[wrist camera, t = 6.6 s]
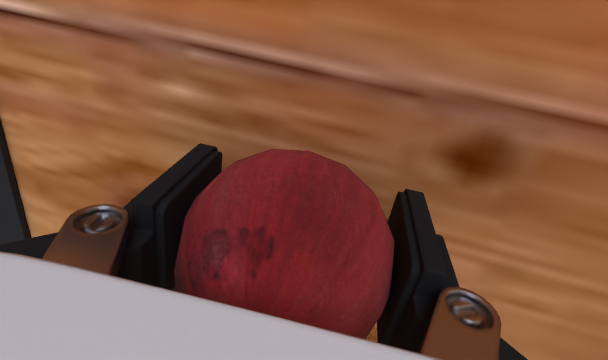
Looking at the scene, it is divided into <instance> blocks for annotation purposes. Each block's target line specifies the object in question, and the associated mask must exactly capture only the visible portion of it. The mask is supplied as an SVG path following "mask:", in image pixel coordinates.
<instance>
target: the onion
mask: <svg viewBox="0 0 608 360" xmlns="http://www.w3.org/2000/svg"><path fill="white" fill-rule="evenodd" d="M393 255H394V238H393V236H392V233H391V231H390V228H389V226H388V223H387V221H386V218H385V216H384V213H383V211H382V208H381V206H380V203H379V201H378V199H377V197H376V195H375V194H374V192H373V191H372V190H371V189H370V188H369V187H368V186H367V185H366V184H365V183H364V182H363V181H362V180H361V179H359V178H358V177H357V176H356V175H355V174H354V173H353V172H352V171H351V170H350V169H349V168H348V167H347V166H345V165H343V164H341V163H338V162H336V161H333V160H331V159H328V158H326V157H323V156H321V155H319V154H316V153H314V152H311V151H298V150H279V149H271V150H268V151H265V152H262V153H259V154H256V155H253V156H250V157H247V158H244V159H241V160H238V161H236V162H235V163H233V164H232V165H230V166H229V167H228V168H226V169H225V170H223V171H222V172H221V173H220V174H219V175H218V176H217V177H216V178H215V179H214V180H213V181H212V182H211V183H210V184H209V185H208V186H207V187H206V188H205V189H204V190H203V191H202V192H201V193H200V194H199V195H198V196H197V197H196V198H195V200H194V201H193V203H192V205H191V207H190V209H189V211H188V213H187V215H186V216H185V221H184V225H183V230H182V235H181V239H180V244H179V249H178V254H177V259H176V263H175V268H174V276H175V289H176V292H180V293H184V294H188V295H193V296H197V297H200V298H204V299H208V300H212V301H216V302H220V303H224V304H228V305H232V306H236V307H240V308H244V309H248V310H252V311H256V312H260V313H264V314H268V315H272V316H276V317H280V318H284V319H288V320H292V321H296V322H300V323H304V324H307V325H311V326H315V327H319V328H323V329H327V330H331V331H335V332H339V333H342V334H346V335H350V336H354V337H358V338H362V339H365V338H366V337H367V335H368V334H369V332H370V331H371V329H372V328H373V326H374V325H375V323H376V322H377V320H378V319H379V317H380V316H381V314H382V312H383V310H384V307H385V305H386V303H387V300H388V298H389V293H390V286H391V278H392V267H393Z"/></svg>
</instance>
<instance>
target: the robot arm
mask: <svg viewBox="0 0 608 360" xmlns="http://www.w3.org/2000/svg"><path fill="white" fill-rule="evenodd" d="M221 168H222V153H221V152H218V150H217V147H214V146H210V145H205V144H201V143H200V144H198V145H197V146H196V147H195V148H194V149H192V150H191V151H190V152H189V153H188V154H186V155H185V156H184V157H183V158H182V159H180V160H179V161H178V162H177V163H175V164H174V165H173V166H172V167H171V168H169V169H168V170H167V171H166V172H165V173H163V174H162V175H161V176H160V177H159V178H157V179H156V180H155V181H154V182H153V183H151V184H150V185H149V186H148V187H147V188H145V189H144V190H143V191H142V192H141V193H139V194H138V195H137V196H136V197H134V198H133V199H132V200H131V202H129V203H128V204H127V205H126V206H125V207H123V208H122V207H119V206H116V205H108V204H101V205H93V206H88V207H85V208H82V209H80V210H78V211H76V212H74V213H73V214H71V215H70V216H69V217H68V218H67V219H66V221H65V223H64V224H63V226H62V227H61V229H60V231H59V232H58V233H53V234H48V235H43V236H39V237H34V238H29V239H24V240H19V241H14V242H10V243H5V244H0V360H528V359H526V358H525V357H524V356H523V355H521V354H520V353H519V352H518V351H516V350H515V349H514V348H513V347H511V346H510V345H509V344H508V343H507V342H505V341H504V340H503V339H502V338H500V333H501V321H500V317H499V315H498V313H497V311H496V310H495V309H494V308H493V306H492V305H491V304H490V303H489V302H488V301H486V300H485V299H484V298H483V297H481V296H480V295H478V294H476V293H474V292H473V291H470V290H467V289H465V288H460V287H459V284H458V281H457V278H456V275H455V272H454V269H453V266H452V263H451V260H450V257H449V254H448V251H447V248H446V245H445V242H444V239H443V237H442V236H441V235H437V234H436V233H435V230H434V227H433V223H432V220H431V217H430V213H429V210H428V207H427V203H426V200H425V197H424V194H423V193H422V192H418V191H413V190H409V189H405V191H404V193H403V192H398V194H397V196H396V199H395V202H394V205H393V208H392V211H391V214H390V216H389V219H388V222H387V223H388V226H389V228H390V231H391V233H392V236H393V238H394V255H393V267H392V278H391V286H390V293H389V298H388V300H387V303H386V305H385V307H384V310H383V312H382V314H381V316H380V317H379V319H378V320H377V337H378V343H377V342H374V341H370V340H366V339H362V338H358V337H354V336H350V335H346V334H342V333H339V332H335V331H331V330H327V329H323V328H319V327H315V326H311V325H307V324H304V323H300V322H296V321H292V320H288V319H284V318H280V317H276V316H272V315H268V314H264V313H260V312H256V311H252V310H248V309H244V308H240V307H236V306H232V305H228V304H224V303H220V302H216V301H212V300H208V299H204V298H200V297H197V296H193V295H188V294H184V293H180V292H176V291H172V289H173V288H174V287H175V276H174V268H175V263H176V259H177V254H178V249H179V244H180V239H181V235H182V230H183V225H184V221H185V216H186V215H187V213H188V211H189V209H190V207H191V205H192V203H193V201H194V200H195V198H196V197H197V196H198V195H199V194H200V193H201V192H202V191H203V190H204V189H205V188H206V187H207V186H208V185H209V184H210V183H211V182H212V181H213V180H214V179H215V178H216V177H217V176H218V175H219V174H220V173H221Z"/></svg>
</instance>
